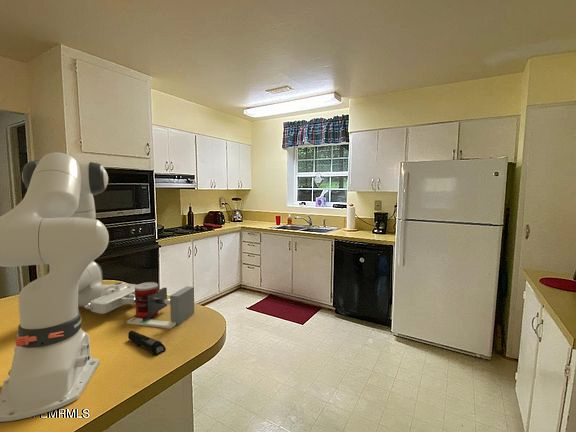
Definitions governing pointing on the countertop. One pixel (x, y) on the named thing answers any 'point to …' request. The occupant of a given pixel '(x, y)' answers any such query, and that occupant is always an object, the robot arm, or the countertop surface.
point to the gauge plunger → (157, 302)
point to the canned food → (144, 298)
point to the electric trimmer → (147, 343)
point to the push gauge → (173, 310)
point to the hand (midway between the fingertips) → (136, 299)
